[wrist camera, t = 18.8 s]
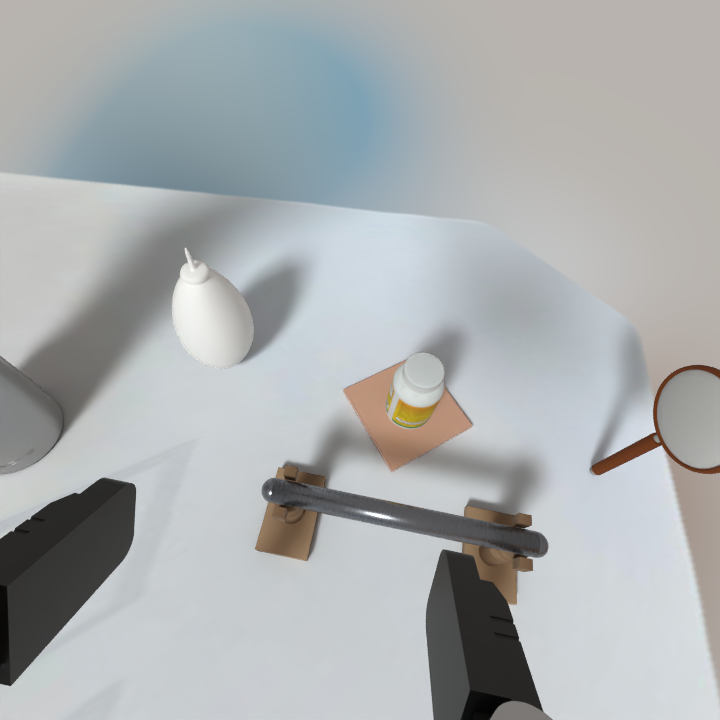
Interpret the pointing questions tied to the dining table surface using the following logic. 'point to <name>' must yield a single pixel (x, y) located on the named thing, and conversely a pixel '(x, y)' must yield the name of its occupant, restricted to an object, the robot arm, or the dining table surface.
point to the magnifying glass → (681, 423)
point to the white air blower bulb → (211, 316)
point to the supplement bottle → (415, 391)
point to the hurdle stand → (296, 526)
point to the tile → (393, 439)
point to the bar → (405, 517)
